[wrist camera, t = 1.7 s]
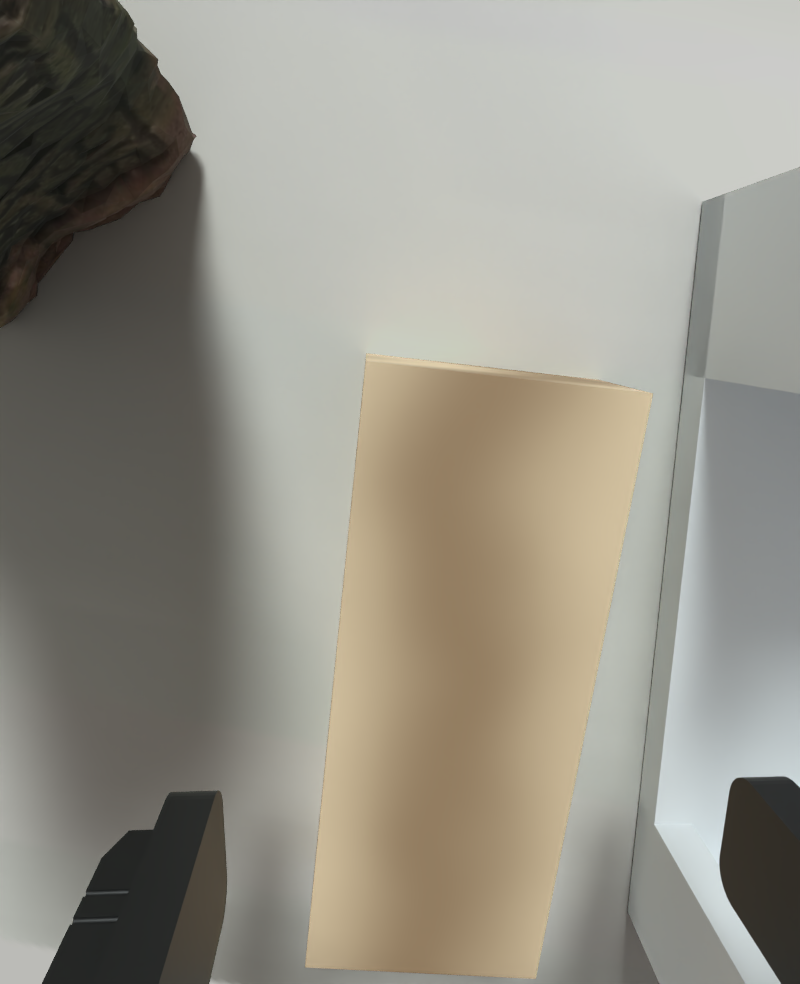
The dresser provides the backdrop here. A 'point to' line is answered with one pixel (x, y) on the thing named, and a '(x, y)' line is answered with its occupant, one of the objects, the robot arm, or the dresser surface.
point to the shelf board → (466, 660)
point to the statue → (75, 131)
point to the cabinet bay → (725, 586)
